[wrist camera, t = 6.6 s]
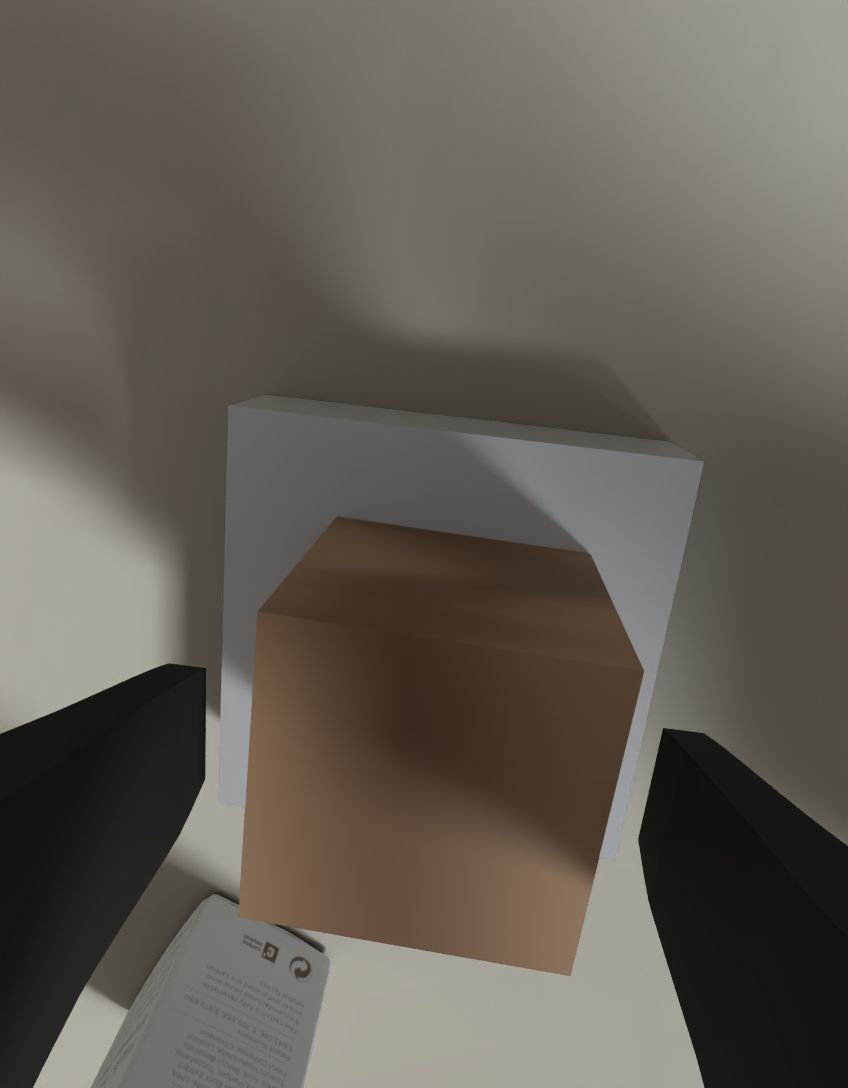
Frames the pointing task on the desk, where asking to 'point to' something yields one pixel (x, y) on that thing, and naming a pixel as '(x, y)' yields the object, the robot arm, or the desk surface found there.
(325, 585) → the walnut cube
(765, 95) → the desk surface
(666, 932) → the robot arm
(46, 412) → the desk surface
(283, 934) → the skincare box
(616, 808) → the stoneware block
